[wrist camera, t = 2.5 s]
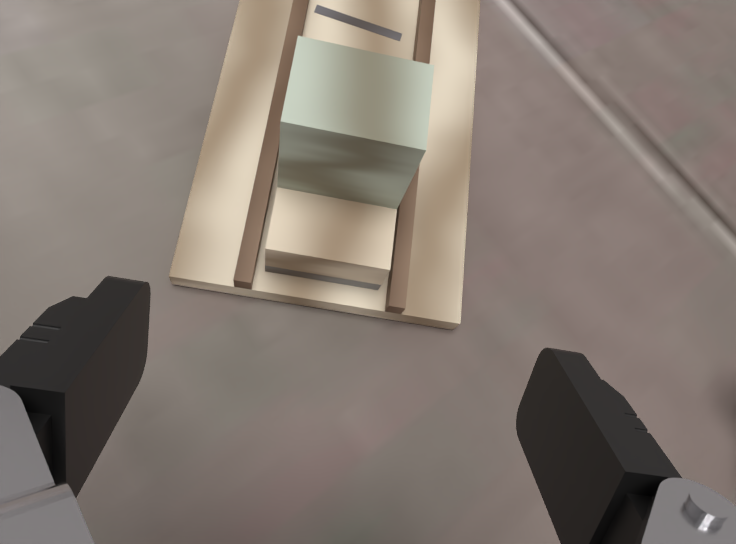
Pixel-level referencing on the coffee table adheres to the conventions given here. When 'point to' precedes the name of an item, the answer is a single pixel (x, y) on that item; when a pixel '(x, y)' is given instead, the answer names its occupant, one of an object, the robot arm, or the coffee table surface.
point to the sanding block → (345, 161)
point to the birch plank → (261, 155)
